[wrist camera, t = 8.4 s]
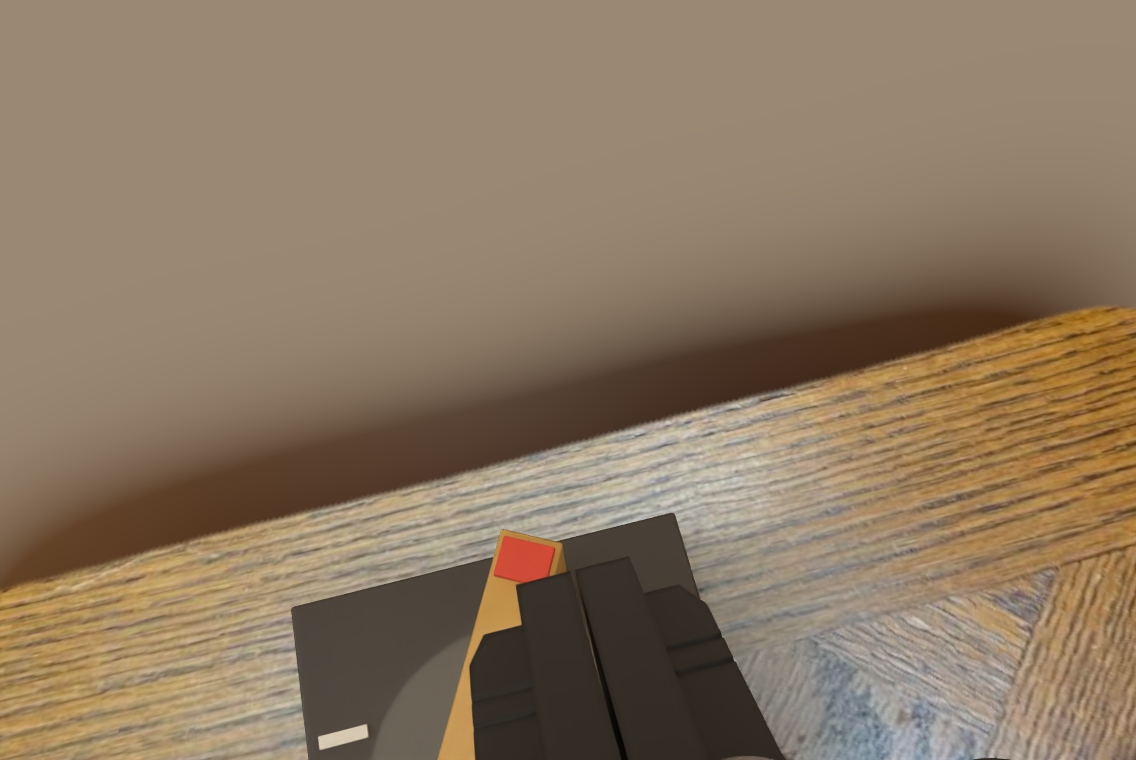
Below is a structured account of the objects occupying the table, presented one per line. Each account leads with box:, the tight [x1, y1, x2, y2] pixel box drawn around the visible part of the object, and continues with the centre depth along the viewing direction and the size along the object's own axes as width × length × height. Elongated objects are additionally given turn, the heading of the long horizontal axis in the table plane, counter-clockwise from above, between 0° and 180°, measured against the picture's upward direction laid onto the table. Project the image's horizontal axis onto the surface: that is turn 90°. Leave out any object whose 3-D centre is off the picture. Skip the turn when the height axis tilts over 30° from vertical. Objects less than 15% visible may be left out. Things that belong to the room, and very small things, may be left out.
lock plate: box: [291, 513, 700, 760], centre depth 27 cm, size 12×8×4 cm, turn 104°
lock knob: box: [437, 529, 567, 760], centre depth 23 cm, size 7×2×5 cm, turn 166°
